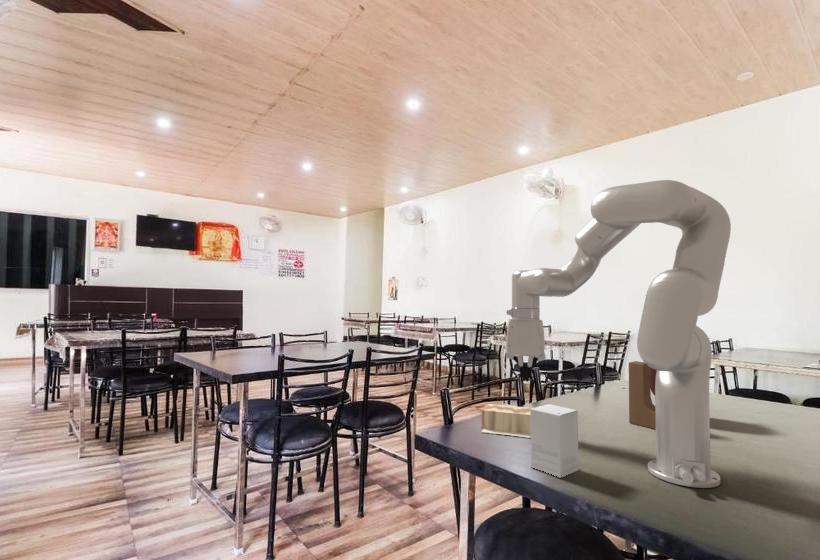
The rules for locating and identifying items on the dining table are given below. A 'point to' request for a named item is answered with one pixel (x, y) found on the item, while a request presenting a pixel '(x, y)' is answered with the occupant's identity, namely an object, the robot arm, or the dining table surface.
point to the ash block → (506, 418)
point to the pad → (506, 433)
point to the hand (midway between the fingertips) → (525, 380)
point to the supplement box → (554, 439)
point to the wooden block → (640, 396)
